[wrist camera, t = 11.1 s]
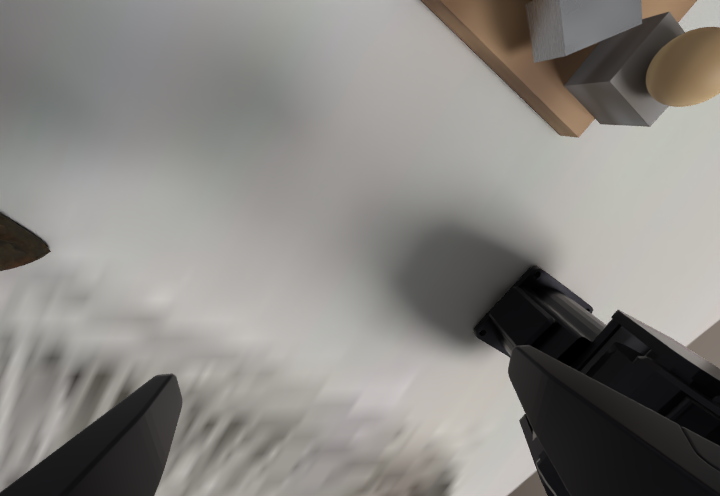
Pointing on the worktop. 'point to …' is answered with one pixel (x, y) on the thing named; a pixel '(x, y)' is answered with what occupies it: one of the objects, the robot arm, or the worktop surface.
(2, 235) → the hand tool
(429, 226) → the worktop surface
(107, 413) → the robot arm
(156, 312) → the worktop surface
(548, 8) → the lever
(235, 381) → the worktop surface
